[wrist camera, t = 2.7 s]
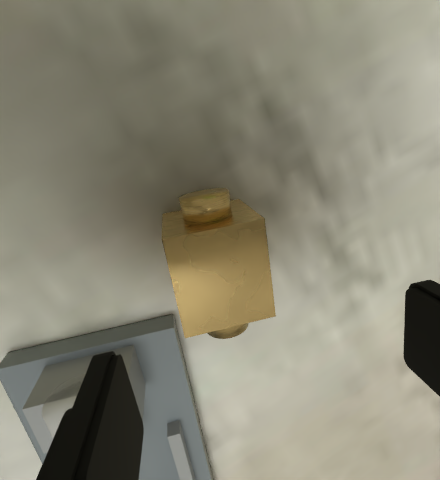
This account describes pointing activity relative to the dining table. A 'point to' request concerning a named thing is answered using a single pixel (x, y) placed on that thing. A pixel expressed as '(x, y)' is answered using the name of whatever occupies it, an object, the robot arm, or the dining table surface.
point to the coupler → (218, 264)
